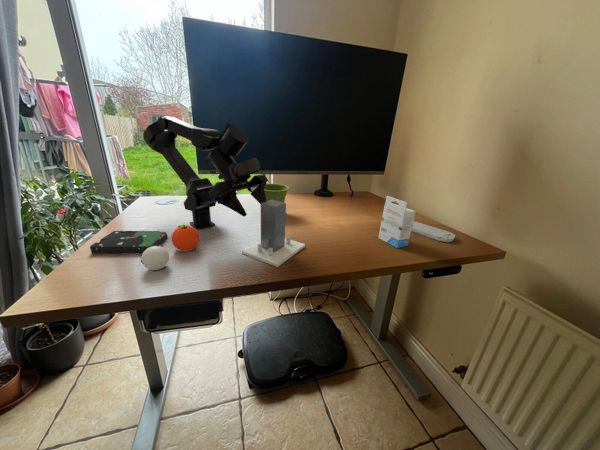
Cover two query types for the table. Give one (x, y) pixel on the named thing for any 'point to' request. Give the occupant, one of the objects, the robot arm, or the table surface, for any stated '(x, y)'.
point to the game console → (432, 232)
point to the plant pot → (275, 192)
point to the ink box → (396, 223)
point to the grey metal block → (273, 224)
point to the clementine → (185, 238)
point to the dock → (274, 257)
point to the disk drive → (128, 242)
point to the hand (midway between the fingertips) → (256, 211)
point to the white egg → (155, 258)
